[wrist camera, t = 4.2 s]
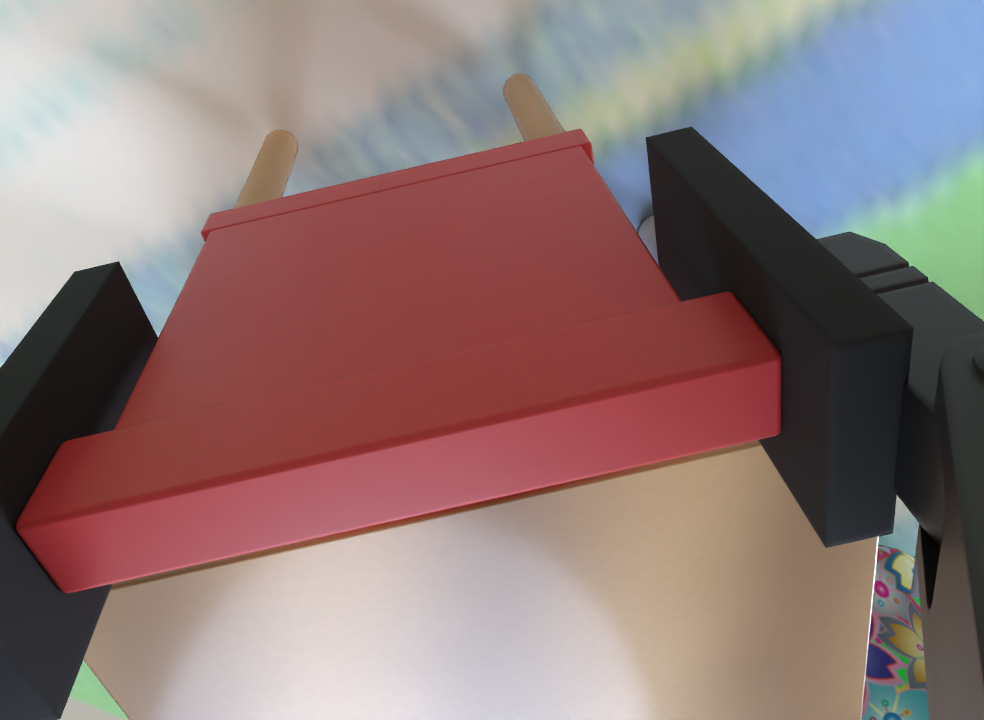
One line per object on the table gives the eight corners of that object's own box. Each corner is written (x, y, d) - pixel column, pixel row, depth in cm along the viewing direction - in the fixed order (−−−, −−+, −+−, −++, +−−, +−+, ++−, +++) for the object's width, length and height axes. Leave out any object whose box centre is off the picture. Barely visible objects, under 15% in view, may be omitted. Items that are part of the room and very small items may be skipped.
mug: (682, 634, 36) (778, 890, 27) (824, 494, 32) (990, 739, 23) (863, 698, 40) (997, 938, 31) (1007, 582, 36) (1206, 817, 28)
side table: (686, 184, 24) (892, 414, 14) (705, 473, 31) (857, 771, 21) (182, 299, 25) (38, 604, 15) (306, 562, 31) (265, 898, 21)
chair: (550, 55, 22) (784, 353, 9) (584, 282, 26) (782, 724, 13) (237, 128, 22) (8, 527, 9) (318, 342, 26) (241, 841, 13)
